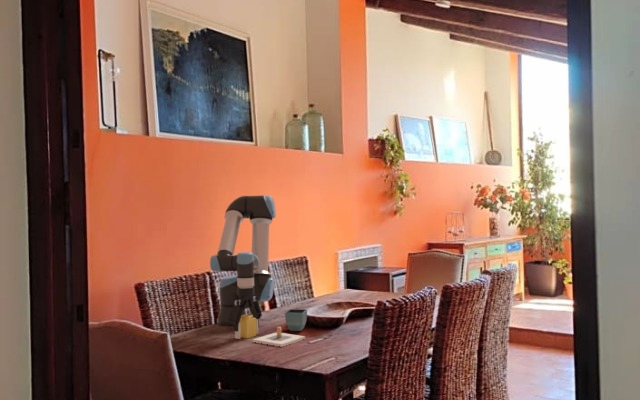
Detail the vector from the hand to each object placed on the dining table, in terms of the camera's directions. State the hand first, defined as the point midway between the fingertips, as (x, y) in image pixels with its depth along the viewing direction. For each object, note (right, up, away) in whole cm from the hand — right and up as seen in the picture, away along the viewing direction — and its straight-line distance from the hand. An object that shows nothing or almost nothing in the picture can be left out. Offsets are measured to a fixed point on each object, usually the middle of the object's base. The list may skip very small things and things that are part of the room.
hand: (246, 335), depth 263 cm
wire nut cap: (0, 0, 0) cm, 0 cm away
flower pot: (+22, 0, +10) cm, 24 cm away
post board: (+15, 0, -10) cm, 18 cm away
